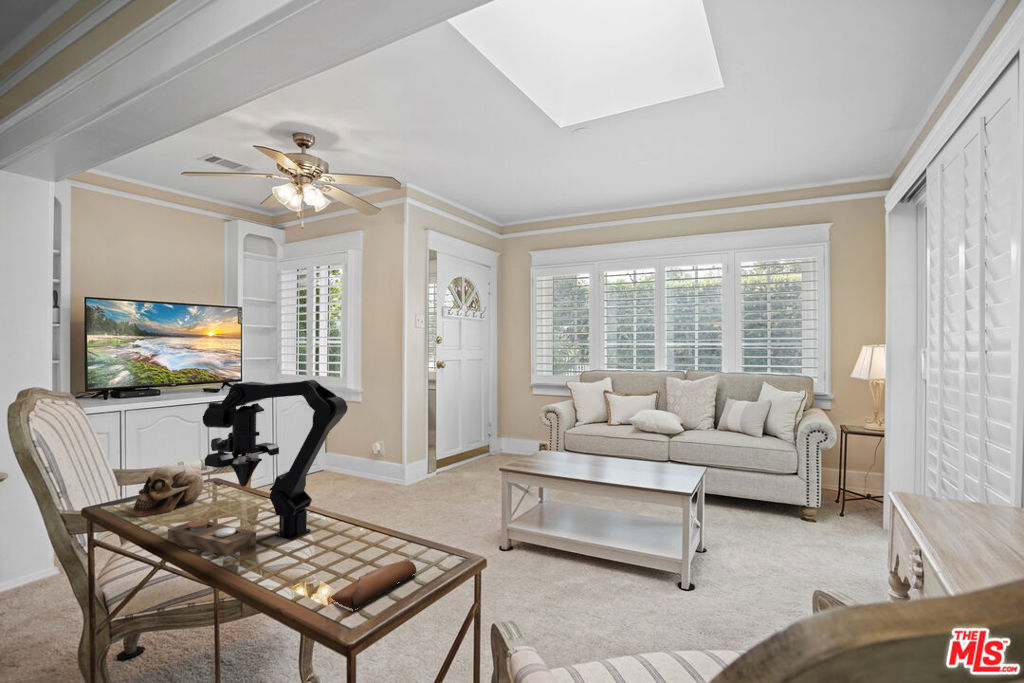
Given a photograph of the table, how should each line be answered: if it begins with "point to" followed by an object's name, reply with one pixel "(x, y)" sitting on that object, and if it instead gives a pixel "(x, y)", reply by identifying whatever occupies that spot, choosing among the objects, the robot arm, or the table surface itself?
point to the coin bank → (168, 490)
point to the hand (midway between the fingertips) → (243, 486)
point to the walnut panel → (212, 538)
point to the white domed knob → (225, 532)
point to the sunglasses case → (374, 584)
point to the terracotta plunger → (198, 525)
